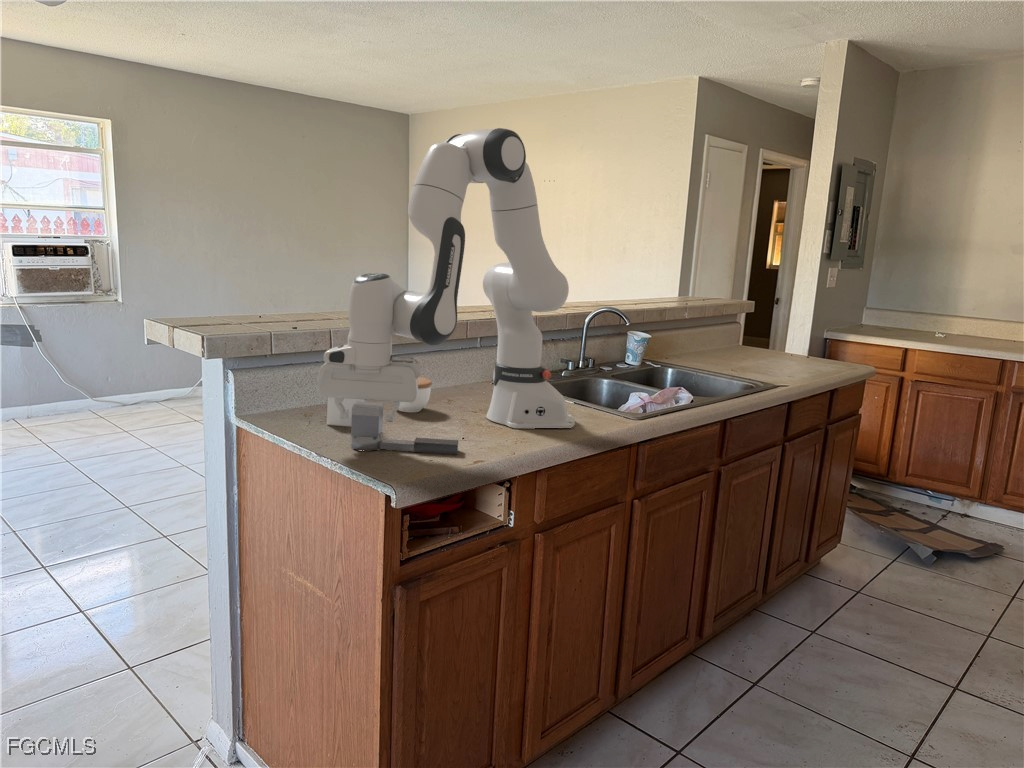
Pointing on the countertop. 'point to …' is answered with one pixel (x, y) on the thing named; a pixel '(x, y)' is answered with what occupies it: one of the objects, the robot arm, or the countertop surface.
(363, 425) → the grey metal cube
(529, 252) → the robot arm
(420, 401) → the lidded jar
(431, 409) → the countertop surface
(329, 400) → the medicine bottle
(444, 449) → the ratchet
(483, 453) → the countertop surface
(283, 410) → the countertop surface
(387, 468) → the countertop surface
